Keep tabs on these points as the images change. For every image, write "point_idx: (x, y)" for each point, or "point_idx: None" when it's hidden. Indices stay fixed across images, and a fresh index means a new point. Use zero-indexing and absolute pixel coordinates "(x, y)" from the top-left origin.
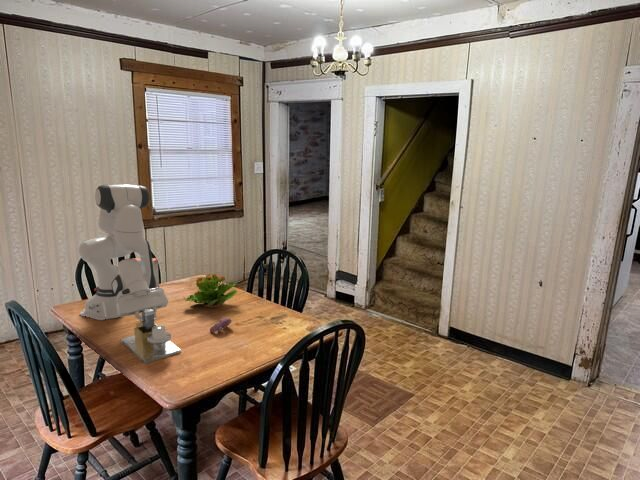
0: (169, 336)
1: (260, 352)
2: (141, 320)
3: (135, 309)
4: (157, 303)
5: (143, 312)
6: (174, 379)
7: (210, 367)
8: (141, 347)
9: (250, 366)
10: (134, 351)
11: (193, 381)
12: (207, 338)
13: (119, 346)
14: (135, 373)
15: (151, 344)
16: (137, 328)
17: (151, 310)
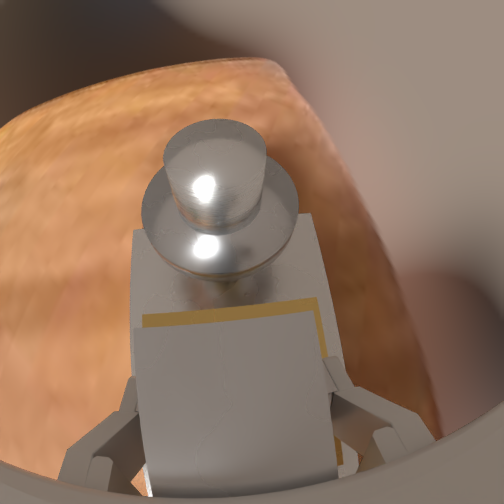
0: (165, 170)
1: (12, 140)
2: (332, 356)
3: (459, 447)
4: (2, 490)
5: (321, 389)
6: (240, 104)
7: (130, 115)
8: None
9: (71, 98)
10: (337, 331)
11: (203, 85)
12: (10, 295)
13: None
14: (344, 178)
15: None
16: None
17: (168, 354)
